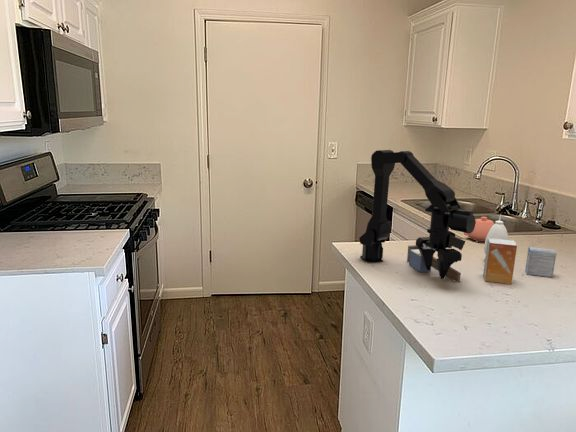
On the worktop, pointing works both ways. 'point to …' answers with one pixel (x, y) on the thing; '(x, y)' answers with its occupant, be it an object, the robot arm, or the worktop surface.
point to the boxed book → (417, 261)
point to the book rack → (451, 272)
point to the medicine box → (540, 262)
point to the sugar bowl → (481, 229)
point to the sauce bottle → (497, 232)
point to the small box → (499, 260)
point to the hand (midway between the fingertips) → (435, 274)
